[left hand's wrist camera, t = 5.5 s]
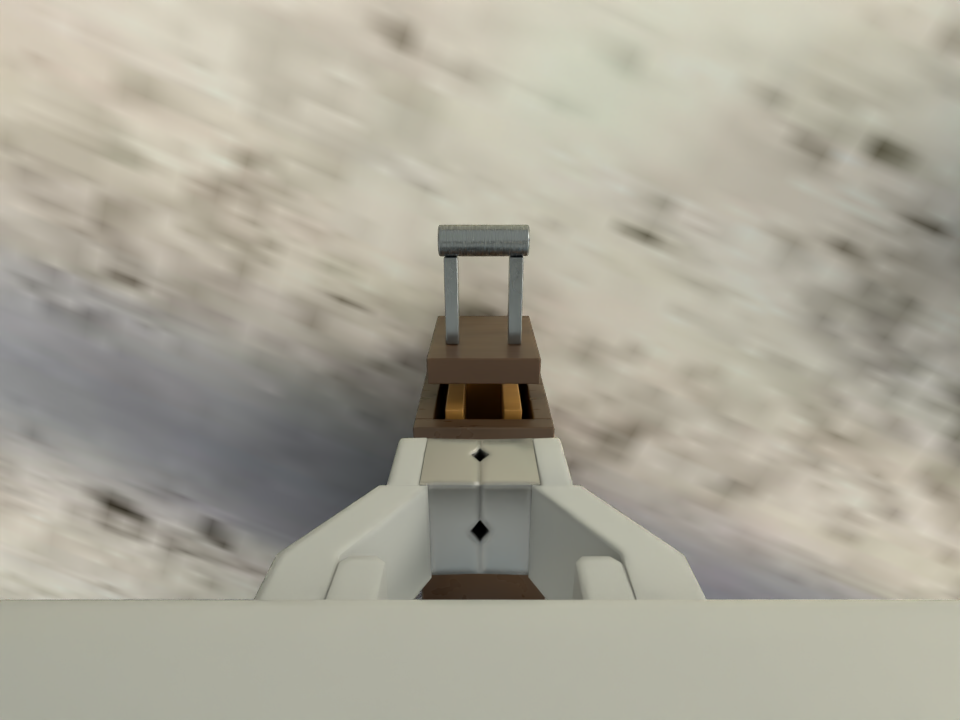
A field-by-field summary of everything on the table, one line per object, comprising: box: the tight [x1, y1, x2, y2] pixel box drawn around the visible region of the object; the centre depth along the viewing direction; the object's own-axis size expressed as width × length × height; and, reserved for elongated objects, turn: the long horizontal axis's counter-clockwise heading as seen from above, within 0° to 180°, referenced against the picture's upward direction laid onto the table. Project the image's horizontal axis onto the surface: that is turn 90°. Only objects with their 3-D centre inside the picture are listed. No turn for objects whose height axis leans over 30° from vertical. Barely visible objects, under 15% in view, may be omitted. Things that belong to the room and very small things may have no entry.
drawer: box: [427, 225, 541, 419], centre depth 28 cm, size 24×5×6 cm, turn 0°
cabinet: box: [413, 373, 554, 600], centre depth 30 cm, size 19×6×8 cm, turn 0°
